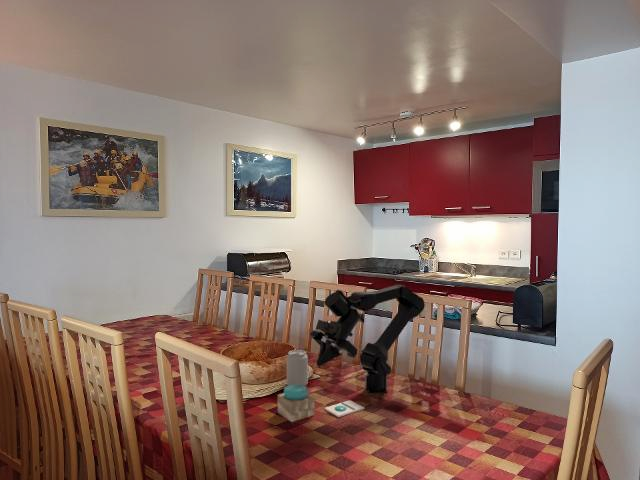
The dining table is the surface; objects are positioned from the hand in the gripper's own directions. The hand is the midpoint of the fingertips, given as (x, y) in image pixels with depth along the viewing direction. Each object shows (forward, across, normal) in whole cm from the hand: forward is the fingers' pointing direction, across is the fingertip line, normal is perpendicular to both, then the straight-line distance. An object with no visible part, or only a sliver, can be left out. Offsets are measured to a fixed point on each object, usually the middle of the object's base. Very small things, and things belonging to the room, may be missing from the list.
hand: (317, 365), depth 142 cm
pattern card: (+6, +6, +13) cm, 16 cm away
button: (+13, 0, +1) cm, 13 cm away
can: (+6, -20, +13) cm, 25 cm away
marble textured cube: (+15, 0, +3) cm, 16 cm away
